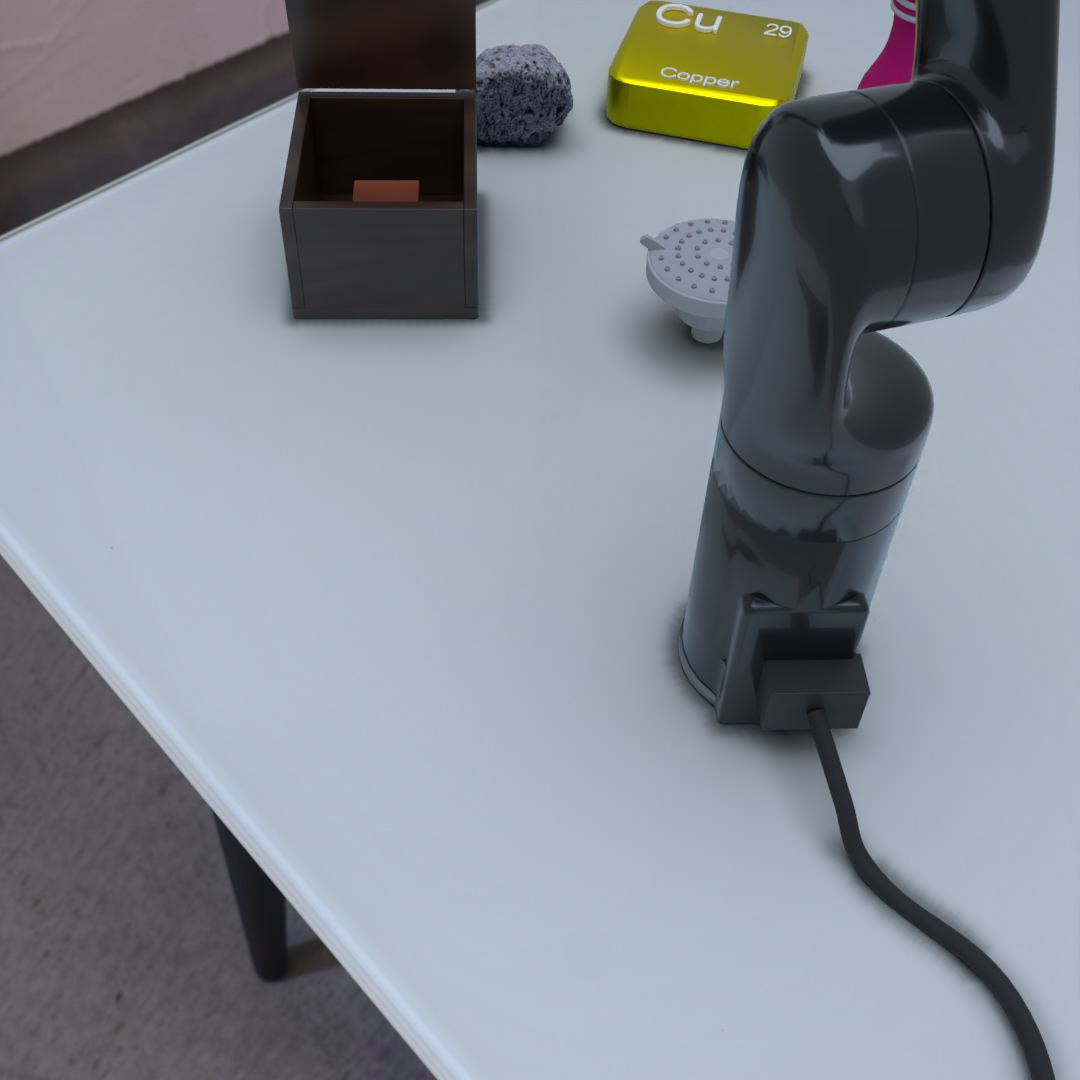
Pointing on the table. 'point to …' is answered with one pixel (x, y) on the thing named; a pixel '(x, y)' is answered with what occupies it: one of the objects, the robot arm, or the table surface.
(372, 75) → the lid
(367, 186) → the block
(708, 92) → the element tile
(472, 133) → the chest
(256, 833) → the table surface
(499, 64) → the pumice stone
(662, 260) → the showerhead
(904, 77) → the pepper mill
